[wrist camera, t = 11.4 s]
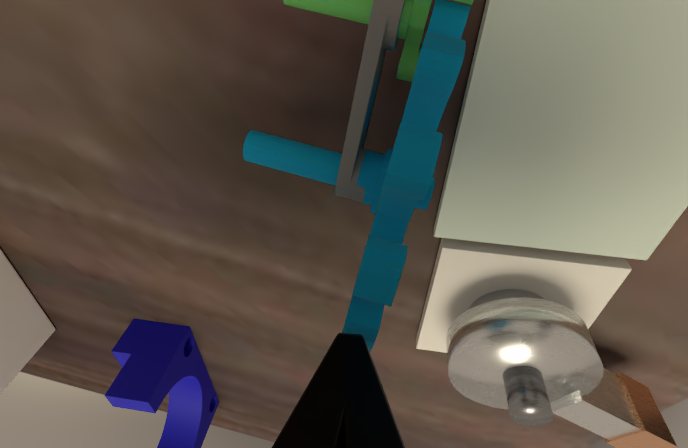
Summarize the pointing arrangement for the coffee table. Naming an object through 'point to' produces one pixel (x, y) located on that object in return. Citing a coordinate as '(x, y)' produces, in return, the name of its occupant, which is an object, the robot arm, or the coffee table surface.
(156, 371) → the blue saddle bracket
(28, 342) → the gable box
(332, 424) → the robot arm
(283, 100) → the coffee table surface
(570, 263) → the base
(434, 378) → the coffee table surface
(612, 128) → the mat
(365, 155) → the gear
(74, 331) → the coffee table surface
